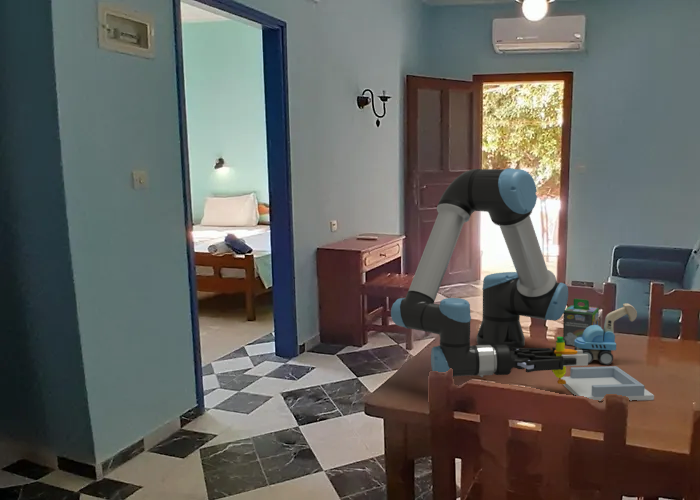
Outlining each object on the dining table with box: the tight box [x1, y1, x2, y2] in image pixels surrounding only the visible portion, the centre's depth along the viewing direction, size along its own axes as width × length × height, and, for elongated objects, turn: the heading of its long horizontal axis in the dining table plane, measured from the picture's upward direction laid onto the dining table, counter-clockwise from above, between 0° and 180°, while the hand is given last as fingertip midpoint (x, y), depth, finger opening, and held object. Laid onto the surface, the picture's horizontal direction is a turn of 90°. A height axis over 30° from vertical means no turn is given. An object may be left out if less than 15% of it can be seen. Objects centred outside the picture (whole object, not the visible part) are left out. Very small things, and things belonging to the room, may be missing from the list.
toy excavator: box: [573, 303, 638, 366], centre depth 184 cm, size 9×17×17 cm, turn 78°
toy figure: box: [551, 336, 577, 385], centre depth 159 cm, size 7×4×12 cm, turn 79°
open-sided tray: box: [561, 365, 655, 402], centre depth 161 cm, size 18×15×4 cm
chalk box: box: [562, 298, 600, 347], centre depth 202 cm, size 9×9×15 cm
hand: (584, 357), depth 160 cm, fingers closed on toy figure, 3 cm apart
